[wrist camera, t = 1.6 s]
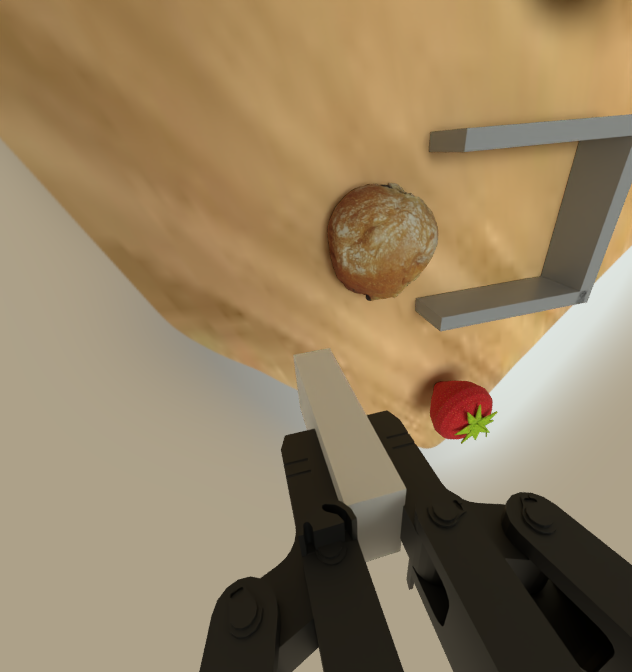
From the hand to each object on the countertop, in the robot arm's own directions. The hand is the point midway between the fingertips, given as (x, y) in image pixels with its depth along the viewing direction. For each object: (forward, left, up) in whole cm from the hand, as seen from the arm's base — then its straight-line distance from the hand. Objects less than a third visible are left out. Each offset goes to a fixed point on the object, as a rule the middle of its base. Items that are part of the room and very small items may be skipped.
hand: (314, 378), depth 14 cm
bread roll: (0, +11, -19) cm, 22 cm away
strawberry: (+20, +20, -19) cm, 34 cm away
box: (0, +24, -19) cm, 31 cm away
